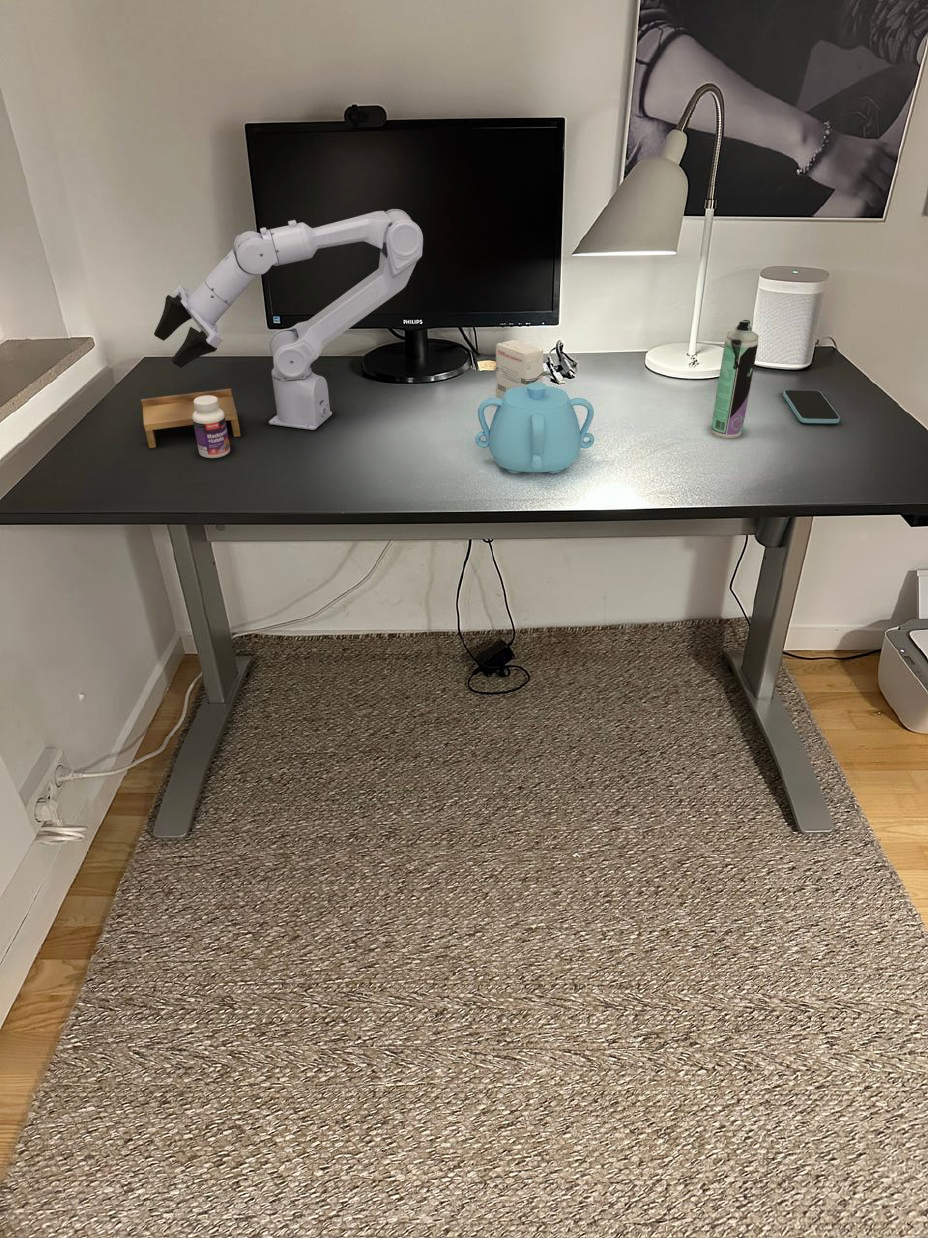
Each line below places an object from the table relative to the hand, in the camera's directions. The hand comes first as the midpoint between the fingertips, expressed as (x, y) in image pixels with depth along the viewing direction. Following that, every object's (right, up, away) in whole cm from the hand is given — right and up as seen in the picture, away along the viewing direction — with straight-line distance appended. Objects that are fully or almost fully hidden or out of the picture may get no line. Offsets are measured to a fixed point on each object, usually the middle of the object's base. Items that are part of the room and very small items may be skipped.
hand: (167, 350), depth 157 cm
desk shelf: (+2, -12, +9) cm, 15 cm away
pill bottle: (+8, -18, +2) cm, 19 cm away
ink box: (+62, -6, +17) cm, 65 cm away
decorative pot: (+64, -20, -3) cm, 67 cm away
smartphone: (+117, -7, +14) cm, 118 cm away
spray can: (+99, -13, +6) cm, 100 cm away
